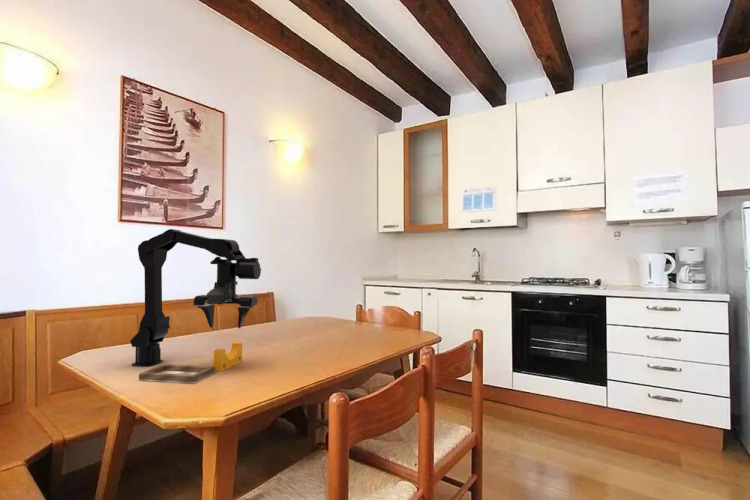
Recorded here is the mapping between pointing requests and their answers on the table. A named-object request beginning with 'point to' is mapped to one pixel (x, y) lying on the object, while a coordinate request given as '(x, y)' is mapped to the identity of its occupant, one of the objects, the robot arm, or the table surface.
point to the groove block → (177, 373)
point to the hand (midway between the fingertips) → (225, 327)
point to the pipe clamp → (228, 357)
